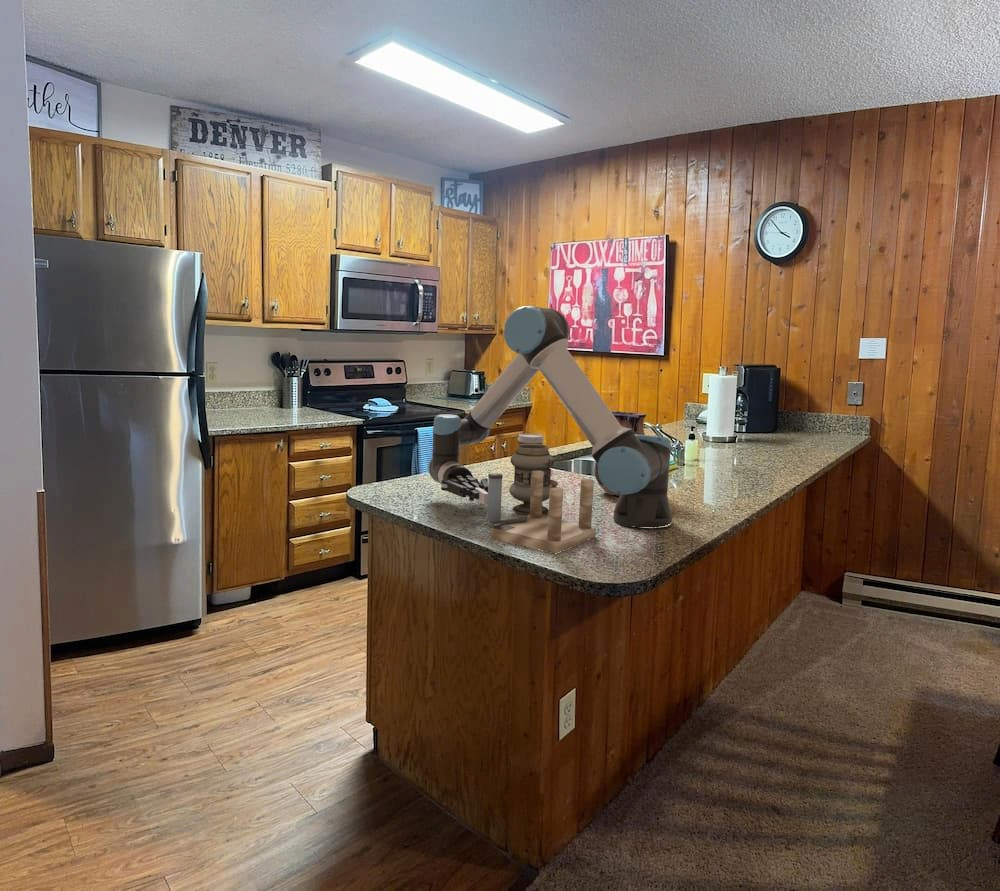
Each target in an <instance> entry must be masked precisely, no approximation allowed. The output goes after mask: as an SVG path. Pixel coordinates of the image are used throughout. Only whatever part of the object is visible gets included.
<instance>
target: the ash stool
mask: <svg viewBox="0 0 1000 891" xmlns="http://www.w3.org/2000/svg"><path fill="white" fill-rule="evenodd" d="M543 478H544V472H543V471H538V470H535V471H532V475H531V497H530V515H526V516H527V521H520V522H511V523H502V524H496V525H495V526H494V525H493V526H490V539H493V540H497V541H501V542H505V543H508V542H509V543H510V544H514V545H517V544H518V545H517V546H521V545H522V546H521V547H525V546H526V548H529V547H531V548H530V549H533V548H535V549H534V550H537V549H540V550H539V551H541V550H543V551H542V552H545V551H547V552H546V553H549V552H552V553H551V554H553V553H558V552H560V551H563V550H565V551H567V550H569V549H568V548H570V547H572V548H573V546H574V547H576V546H575V545H577V544H579V543H581V544H583V543H585V542H584V541H586V540H588V539H590V540H592V539H591V538H593V537H595V536H596V537H597V527H596V526H592V515H593V501H594V487H595V486H594V484H595V483H594V482H595V480H594V479H591V478H581V479H580V493H579V509H578V510H579V511H578V523H577V522H573V521H569V520H564V519H563V501H564V488H562V487H554V488H550V493H549V499H548V510H549V512H548V513H547V515H548V516H545V515H542V505H543V502H542V498H543ZM596 537H595V538H596ZM593 539H594V538H593ZM588 541H589V540H588ZM582 542H583V543H582ZM586 542H587V541H586ZM509 543H508V544H509ZM579 545H580V544H579ZM577 546H578V545H577ZM566 549H567V550H566ZM570 549H571V548H570ZM563 552H564V551H563ZM560 553H561V552H560ZM558 554H559V553H558Z"/></svg>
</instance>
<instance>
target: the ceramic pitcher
mask: <svg viewBox="0 0 1000 891" xmlns="http://www.w3.org/2000/svg"><path fill="white" fill-rule="evenodd" d="M611 412H612V413H613V415H614V416H615V418H616V419H617V421H618V422H619V423H620V425H621V426H622V427H625V428H630V429H632V431H633V432H634V434H638V435H646V434H645V428H644V421H645V418H646V417H647V413H638V412H632V411H631V412H627V411H626V412H625V411H618V410H614V411H611ZM593 471H594V477H595V479H596V482H597V483H598V485H599V487H600V488H601V489H602V490H603V491H604V492H605V493H606V494H608V495H610V496H614V495H616V497H620V495H621V494H617V493H614V492H612V491H610V490H609V489H607V488H606V487H605V486H604V485H603V483H602V482H601V480H600V478H599V475H598V464H597V463H596V461H595V462H594V470H593Z"/></svg>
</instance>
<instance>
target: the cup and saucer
mask: <svg viewBox="0 0 1000 891" xmlns="http://www.w3.org/2000/svg"><path fill="white" fill-rule="evenodd" d="M551 476H552V469H551V468H550V469H549V483H550V484H551V485H552V487H553V488H557V486H558V485H559V484H558V483H559V482H558V481H556V480H553V479H551V478H552V477H551Z"/></svg>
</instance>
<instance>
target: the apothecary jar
mask: <svg viewBox="0 0 1000 891" xmlns="http://www.w3.org/2000/svg"><path fill="white" fill-rule="evenodd" d="M510 463H511V465H512V466H514V472H513V473H514V475H513V476H514V477H513V478H514V479H513V483H512V484H511V485H510V486H509V490H508V491H509V494H510V496H512V497H513V499H514V500H517V501H519V502H522V503H520V504H517V505H514V506H513V507H512V511H514V512H515V513H516V514H518V515H526V516H528V515H530V497H531V475H532V471H535V470H538V471H543V472H544V478H543V498H542V503H543V502H544V501H547V500H549V493H550V488H553V487H552V485H551V484H550V483H549V469H551V467H553V466H554V464H555V458H554V456H553V455H552V454H551V453H550V452H549V446H548V445H546V444H542V445H541V444H521V445H519V444H518V445H517V446H516V449H515V452H514V453H513V454H512V455H511V456H510ZM548 513H549V508H548V507H546V506H544V505H543V504H542V516H544V515H546V514H548Z"/></svg>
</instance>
